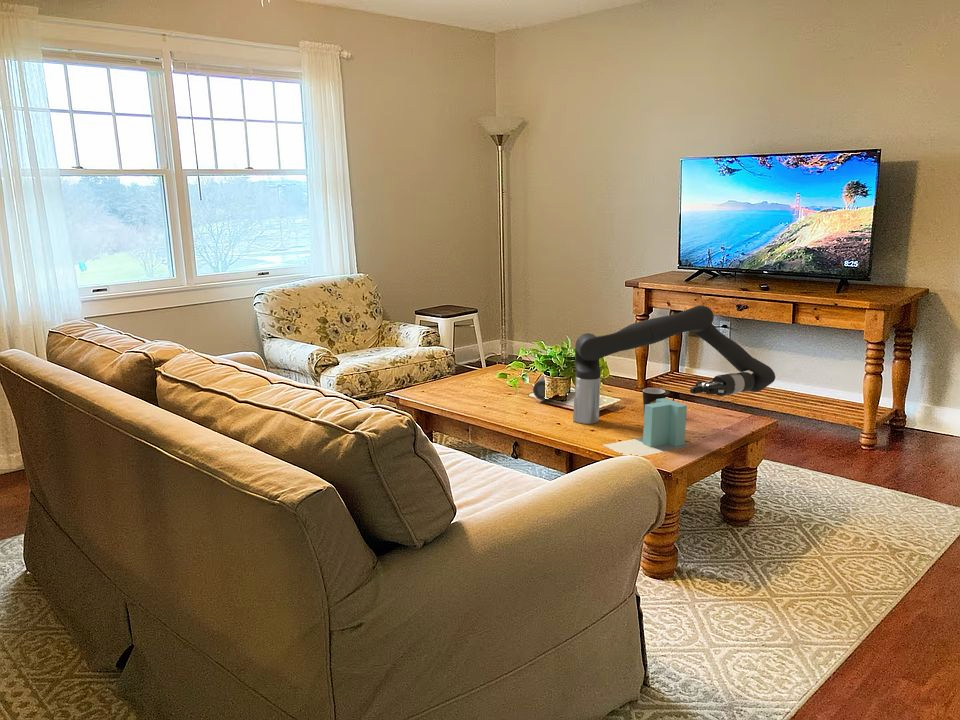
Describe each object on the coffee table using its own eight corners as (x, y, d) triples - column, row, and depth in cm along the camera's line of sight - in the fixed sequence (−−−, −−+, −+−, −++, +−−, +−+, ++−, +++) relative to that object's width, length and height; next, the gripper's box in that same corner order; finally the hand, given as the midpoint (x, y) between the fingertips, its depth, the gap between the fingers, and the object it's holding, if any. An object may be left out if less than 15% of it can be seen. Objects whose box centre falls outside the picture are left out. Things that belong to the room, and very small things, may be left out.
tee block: (662, 435, 280) (665, 397, 277) (684, 444, 270) (686, 405, 267) (636, 440, 274) (638, 402, 271) (657, 450, 265) (659, 410, 262)
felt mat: (660, 436, 282) (661, 433, 282) (690, 448, 269) (690, 446, 269) (602, 447, 270) (602, 444, 270) (630, 460, 257) (630, 458, 257)
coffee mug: (638, 416, 305) (639, 392, 303) (644, 411, 312) (646, 386, 310) (668, 421, 300) (669, 395, 297) (674, 415, 307) (675, 390, 305)
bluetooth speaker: (553, 404, 321) (553, 380, 319) (531, 402, 325) (532, 378, 323) (569, 391, 342) (569, 368, 340) (548, 389, 345) (549, 366, 343)
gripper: (715, 370, 287) (679, 376, 279) (742, 378, 276) (706, 384, 268) (714, 390, 289) (678, 396, 281) (741, 398, 278) (704, 405, 270)
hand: (691, 390), depth 274 cm, fingers closed
